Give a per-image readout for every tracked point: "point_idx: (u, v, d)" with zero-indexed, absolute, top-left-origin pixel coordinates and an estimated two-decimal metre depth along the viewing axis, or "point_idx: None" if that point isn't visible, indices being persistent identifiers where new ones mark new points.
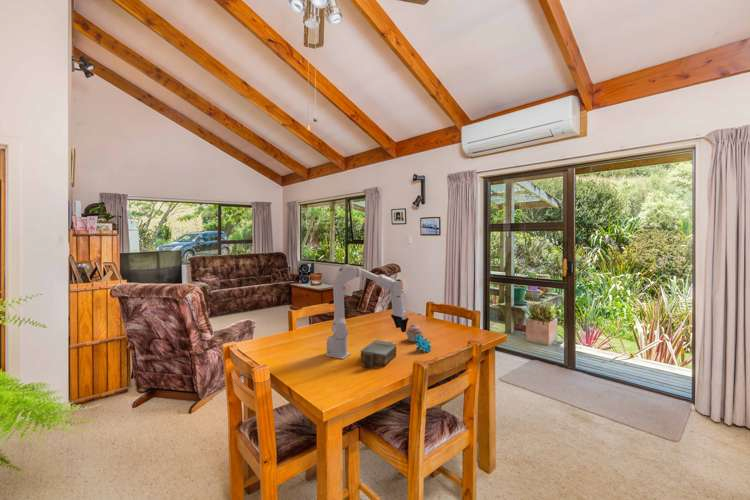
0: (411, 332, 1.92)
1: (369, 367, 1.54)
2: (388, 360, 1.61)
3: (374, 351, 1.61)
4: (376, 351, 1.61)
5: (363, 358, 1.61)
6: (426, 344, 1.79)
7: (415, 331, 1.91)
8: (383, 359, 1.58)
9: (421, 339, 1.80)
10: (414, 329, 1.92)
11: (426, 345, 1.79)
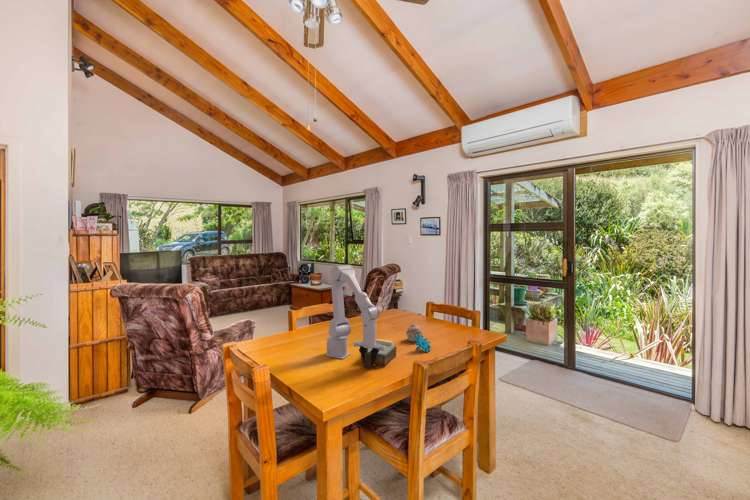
0: (411, 332, 1.92)
1: (369, 367, 1.54)
2: (388, 360, 1.61)
3: None
4: None
5: None
6: (426, 344, 1.80)
7: (415, 331, 1.91)
8: (383, 359, 1.58)
9: (421, 339, 1.80)
10: (414, 329, 1.92)
11: (426, 345, 1.79)
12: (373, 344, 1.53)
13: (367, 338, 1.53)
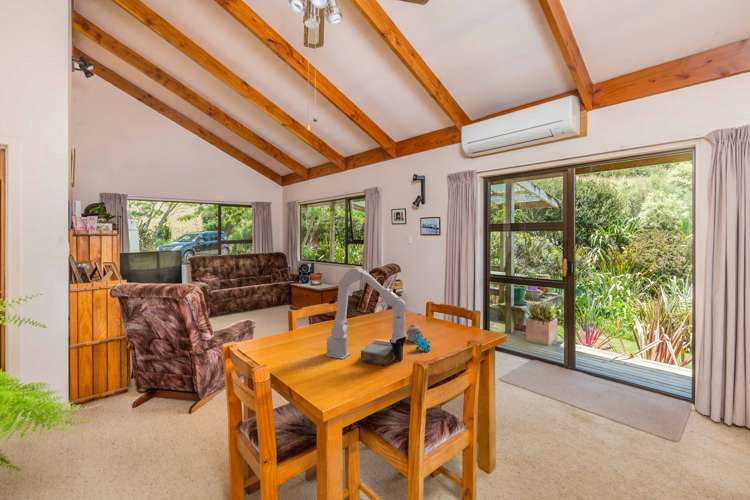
0: (411, 332, 1.92)
1: (402, 358, 1.66)
2: (388, 360, 1.61)
3: (374, 351, 1.61)
4: (376, 351, 1.61)
5: (363, 358, 1.61)
6: (425, 344, 1.80)
7: (415, 331, 1.91)
8: (383, 359, 1.58)
9: (420, 339, 1.81)
10: (414, 329, 1.92)
11: (425, 345, 1.79)
12: None
13: (404, 327, 1.64)
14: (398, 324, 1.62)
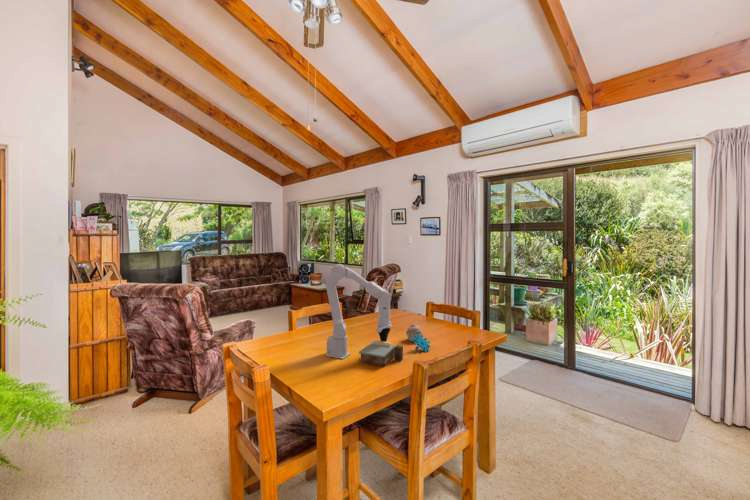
0: (411, 332, 1.92)
1: (402, 358, 1.66)
2: (388, 360, 1.61)
3: (372, 352, 1.59)
4: (375, 352, 1.60)
5: (363, 358, 1.61)
6: (425, 344, 1.80)
7: (415, 331, 1.91)
8: (383, 359, 1.58)
9: (420, 338, 1.81)
10: (414, 329, 1.92)
11: (425, 345, 1.80)
12: None
13: (389, 318, 1.70)
14: (385, 314, 1.68)
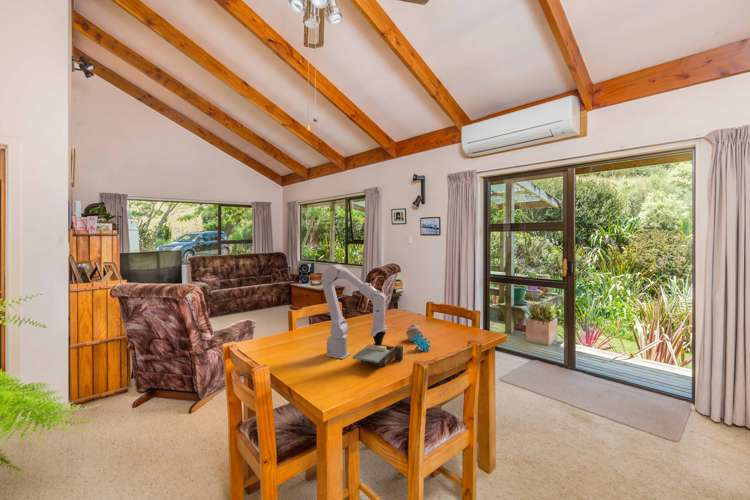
0: (411, 332, 1.92)
1: (402, 358, 1.66)
2: (388, 360, 1.61)
3: (366, 357, 1.53)
4: (369, 357, 1.53)
5: None
6: (425, 344, 1.80)
7: (415, 331, 1.91)
8: (383, 359, 1.58)
9: (420, 338, 1.81)
10: (414, 329, 1.92)
11: (425, 345, 1.80)
12: None
13: (384, 321, 1.64)
14: (377, 318, 1.62)
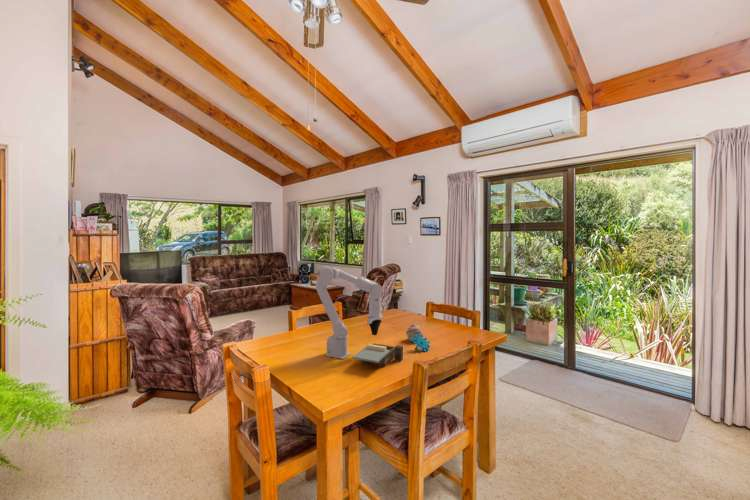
0: (411, 332, 1.92)
1: (402, 358, 1.66)
2: (388, 360, 1.61)
3: (366, 357, 1.53)
4: (369, 357, 1.53)
5: None
6: (424, 343, 1.80)
7: (415, 331, 1.91)
8: (383, 359, 1.58)
9: (420, 338, 1.81)
10: (414, 329, 1.92)
11: (424, 344, 1.80)
12: None
13: (380, 310, 1.72)
14: (376, 306, 1.70)
